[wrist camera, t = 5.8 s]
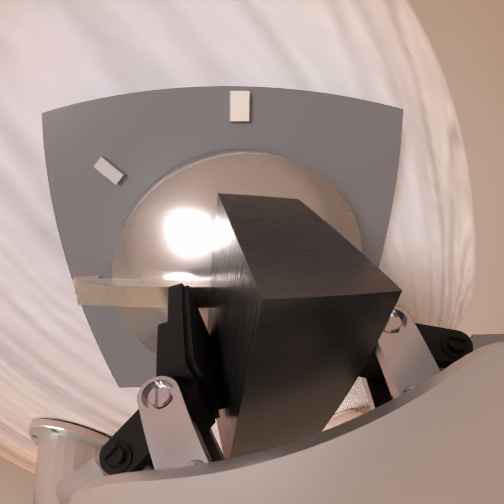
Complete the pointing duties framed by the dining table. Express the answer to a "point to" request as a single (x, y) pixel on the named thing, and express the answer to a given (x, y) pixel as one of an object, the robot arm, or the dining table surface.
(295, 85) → the dining table surface
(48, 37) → the dining table surface
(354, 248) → the dial
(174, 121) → the dial plate
